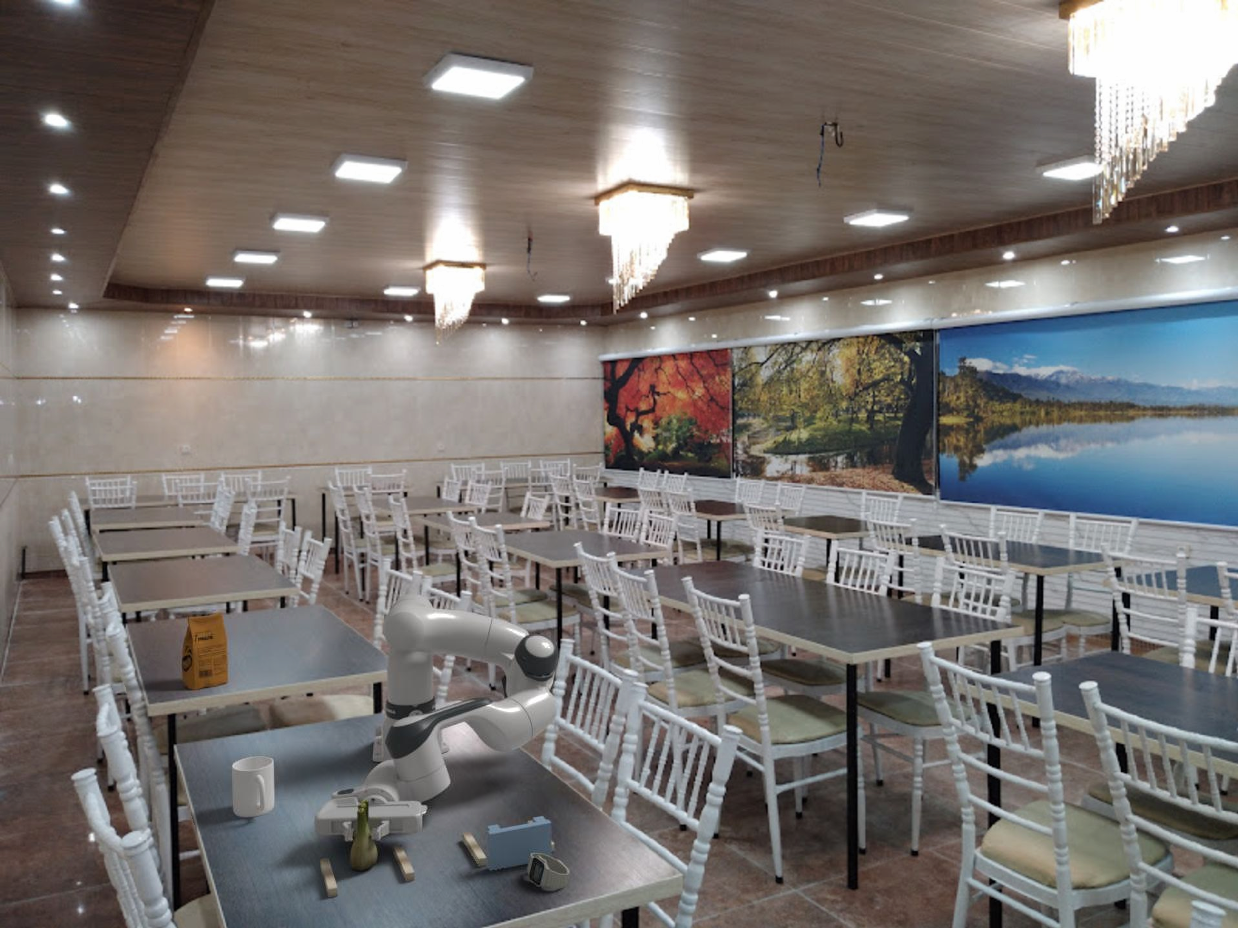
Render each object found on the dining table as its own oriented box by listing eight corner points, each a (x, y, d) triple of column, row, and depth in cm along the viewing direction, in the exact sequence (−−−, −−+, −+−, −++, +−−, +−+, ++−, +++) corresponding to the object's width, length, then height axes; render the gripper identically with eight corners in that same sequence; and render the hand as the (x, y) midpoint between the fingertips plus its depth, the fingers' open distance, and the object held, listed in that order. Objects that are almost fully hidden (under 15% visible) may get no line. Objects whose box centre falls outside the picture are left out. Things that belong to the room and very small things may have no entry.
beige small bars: (320, 867, 177) (320, 859, 177) (534, 826, 194) (534, 819, 194) (328, 897, 166) (328, 889, 166) (554, 851, 184) (554, 843, 183)
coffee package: (178, 685, 296) (176, 615, 295) (219, 677, 305) (217, 609, 303) (190, 692, 289) (188, 620, 288) (231, 683, 298) (229, 614, 296)
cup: (268, 798, 209) (267, 753, 209) (284, 817, 199) (283, 770, 199) (228, 807, 204) (227, 761, 204) (243, 827, 195) (241, 779, 194)
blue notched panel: (485, 862, 179) (484, 826, 179) (545, 850, 184) (545, 815, 183) (490, 871, 176) (490, 834, 175) (551, 858, 181) (551, 822, 180)
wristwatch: (519, 876, 174) (519, 849, 174) (547, 865, 178) (547, 839, 178) (550, 895, 167) (549, 867, 167) (577, 883, 171) (577, 856, 171)
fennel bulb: (363, 857, 181) (362, 795, 181) (384, 862, 179) (384, 800, 179) (343, 870, 176) (342, 807, 175) (365, 876, 174) (364, 811, 173)
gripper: (429, 819, 191) (418, 851, 177) (325, 822, 190) (307, 855, 176) (428, 788, 191) (418, 818, 177) (324, 791, 189) (306, 821, 176)
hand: (362, 836), depth 177 cm, fingers closed on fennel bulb, 3 cm apart
